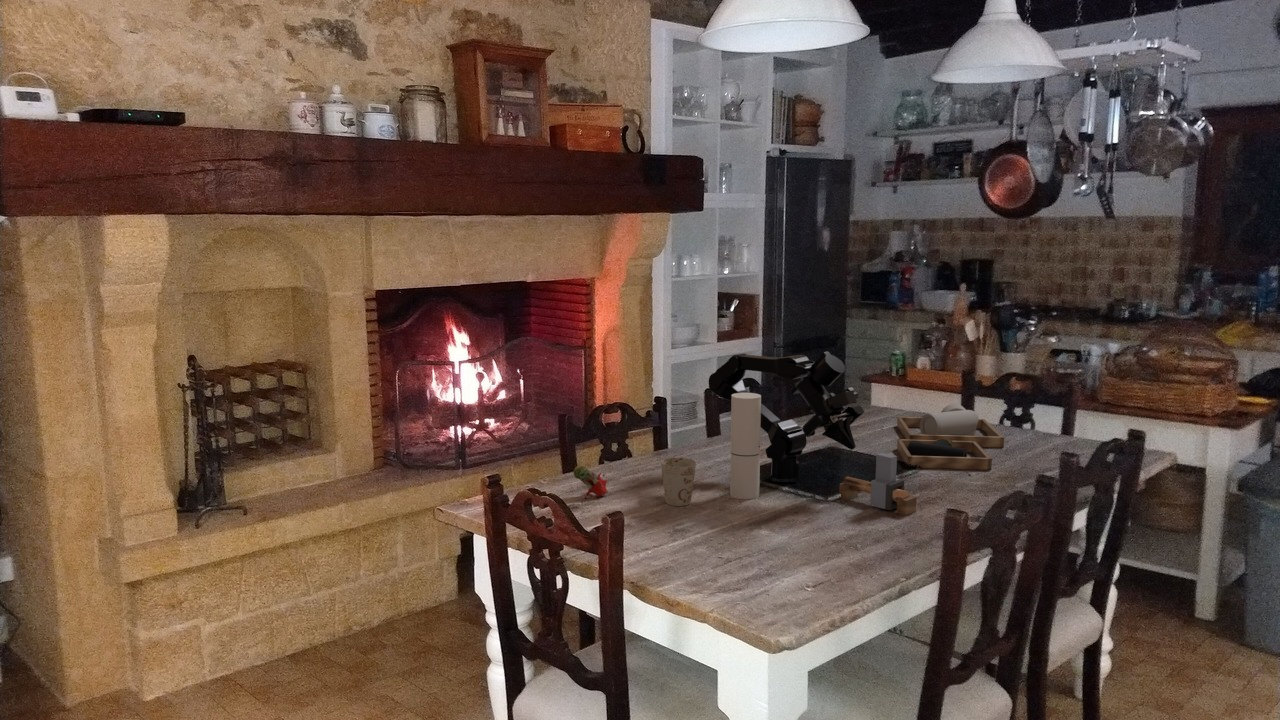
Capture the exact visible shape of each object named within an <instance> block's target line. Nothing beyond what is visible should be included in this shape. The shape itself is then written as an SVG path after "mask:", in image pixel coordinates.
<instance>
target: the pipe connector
mask: <svg viewBox="0 0 1280 720" xmlns="http://www.w3.org/2000/svg"><path fill="white" fill-rule="evenodd" d="M908 451H909V453H910V454H911V456H942V457H968V452H967V449H964V448H956V447H953V445H952V440H947V439H937V440H936V441H935V443H934V445H933V444H925V443H918V442H910V443H909V446H908Z"/></svg>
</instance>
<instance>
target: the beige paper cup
mask: <svg viewBox="0 0 1280 720" xmlns="http://www.w3.org/2000/svg"><path fill="white" fill-rule="evenodd" d="M660 466H661V468H660V469H661V474H662V482H663V483H662V484H663V489H664V491H663V492H664V498H665V503H666V504H667V505H669V506H674V507H683V506H684V507H685V506H688V505H690V504H691V502H692V497H693V491H694V489H693V488H694V482H695V473H696V468H697V462H696V461H695V460H694V459H692V458H688V457H668V458H665V459H663V460H661V462H660Z"/></svg>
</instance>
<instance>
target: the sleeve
mask: <svg viewBox="0 0 1280 720" xmlns="http://www.w3.org/2000/svg"><path fill="white" fill-rule="evenodd" d="M875 457H876V460H875V479H873V480H871V481H870V482H871V495H870V502H869V505H870V506H872V507H876V508H879V509H883V510H886V509H885V499H886V484H888V483H891V482H894V481H897V480H899V479H900V478H897V463H898V462H897V461H898V456H897V455H894V454H888V453H885V452H880V453H877V454H876V455H875ZM896 488H897V487H896ZM892 502H894V501H892Z"/></svg>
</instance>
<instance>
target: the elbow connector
mask: <svg viewBox="0 0 1280 720" xmlns="http://www.w3.org/2000/svg"><path fill="white" fill-rule="evenodd" d="M920 418H921V421H920V427H919V430H920V433H921V434H920V435H958V436H975V434H976V431H977V429H976V426H977V424H978V420H979V419H980V418H979V415H978V413H977V412H976V411H975V410H971V409H966V408H965V407H964V406H963V405H960V404H958V403H950V404H947V405H946V406H944V407H943V408H942V410H941V411H940V412H933V413H925V414H924V415H923V416H922V417H920Z"/></svg>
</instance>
